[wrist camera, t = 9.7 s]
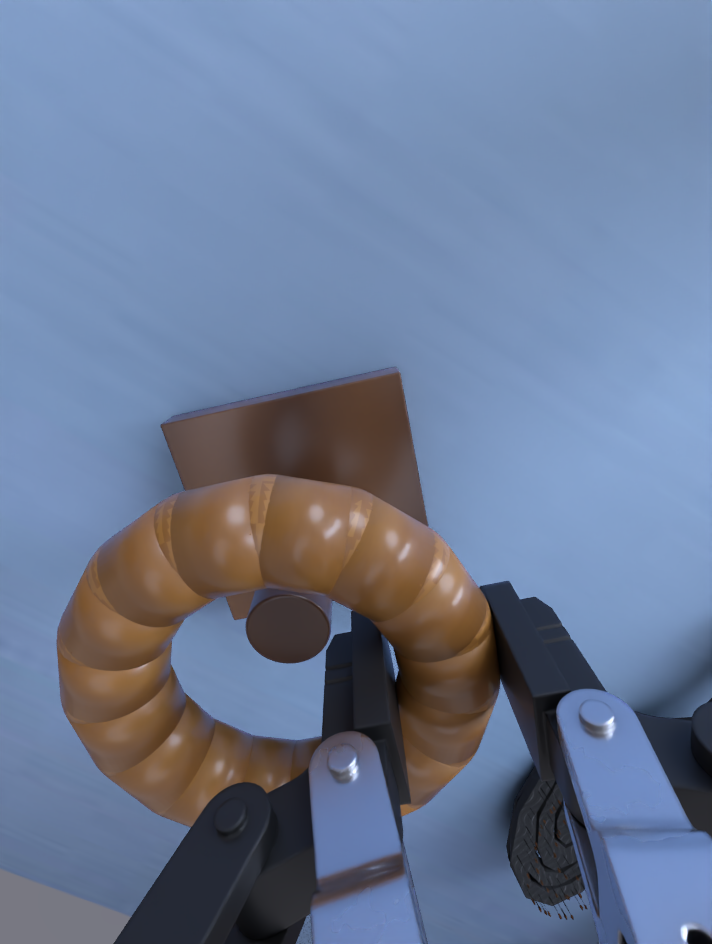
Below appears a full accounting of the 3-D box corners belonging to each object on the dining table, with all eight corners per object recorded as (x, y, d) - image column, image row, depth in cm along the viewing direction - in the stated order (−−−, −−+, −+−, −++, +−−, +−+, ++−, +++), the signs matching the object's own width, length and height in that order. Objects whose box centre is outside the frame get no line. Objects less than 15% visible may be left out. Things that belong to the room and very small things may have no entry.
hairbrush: (942, 645, 22) (593, 941, 28) (860, 601, 26) (565, 872, 32) (831, 565, 21) (486, 898, 27) (760, 529, 24) (469, 830, 30)
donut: (452, 418, 10) (480, 453, 8) (502, 745, 14) (530, 831, 12) (20, 511, 11) (-63, 567, 9) (174, 800, 15) (144, 890, 13)
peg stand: (396, 366, 20) (436, 425, 11) (432, 563, 24) (485, 728, 15) (172, 416, 21) (40, 509, 12) (240, 601, 24) (179, 781, 15)
